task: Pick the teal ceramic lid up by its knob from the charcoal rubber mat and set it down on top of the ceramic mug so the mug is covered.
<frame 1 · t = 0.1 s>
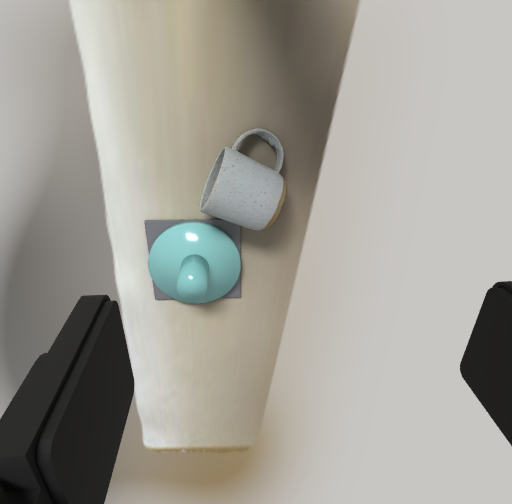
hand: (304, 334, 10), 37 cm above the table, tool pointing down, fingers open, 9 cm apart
ceramic mug: (244, 170, 45), on the table
mat: (195, 260, 50), on the table
lid: (195, 261, 50), resting on mat
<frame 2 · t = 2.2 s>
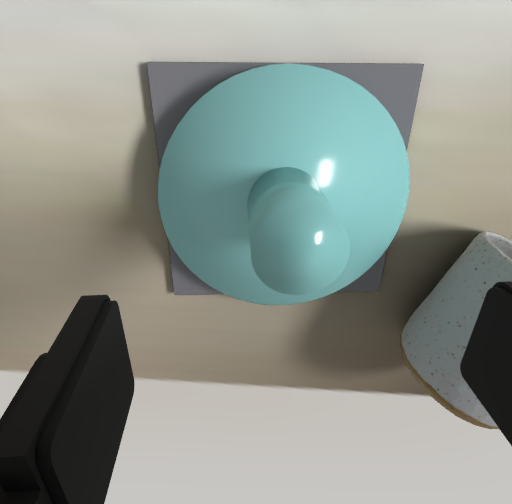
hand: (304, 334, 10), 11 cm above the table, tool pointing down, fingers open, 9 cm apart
ceramic mug: (478, 292, 23), on the table
mat: (281, 192, 19), on the table
lid: (282, 195, 19), resting on mat
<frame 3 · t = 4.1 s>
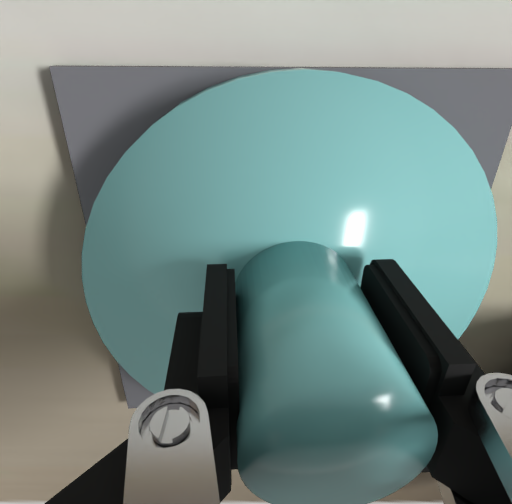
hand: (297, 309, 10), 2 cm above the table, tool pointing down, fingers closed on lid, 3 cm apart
mat: (286, 267, 12), on the table
lid: (287, 273, 12), resting on mat, touching gripper
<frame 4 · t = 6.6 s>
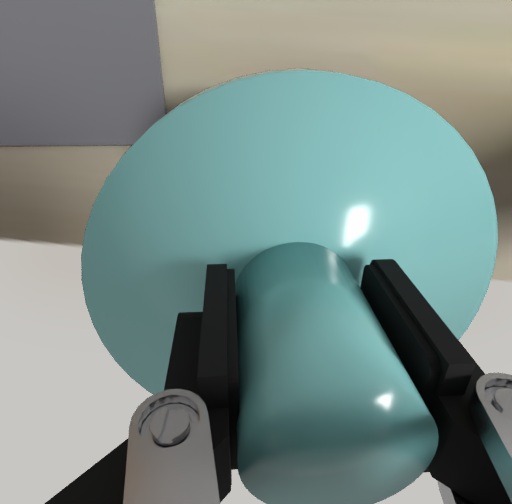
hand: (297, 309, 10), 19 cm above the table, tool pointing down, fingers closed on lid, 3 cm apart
mat: (60, 45, 23), on the table
lid: (288, 274, 12), point 17 cm above the table, touching gripper
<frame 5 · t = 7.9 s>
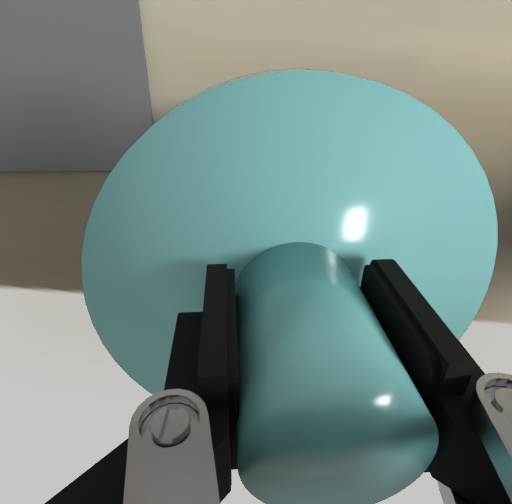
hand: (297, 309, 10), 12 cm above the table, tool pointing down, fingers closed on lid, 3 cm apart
mat: (14, 44, 18), on the table
lid: (288, 274, 12), point 11 cm above the table, touching gripper
when the fingers open (10 cm above the table, at t = 9.1 s): lid stays where it is, resting on ceramic mug.
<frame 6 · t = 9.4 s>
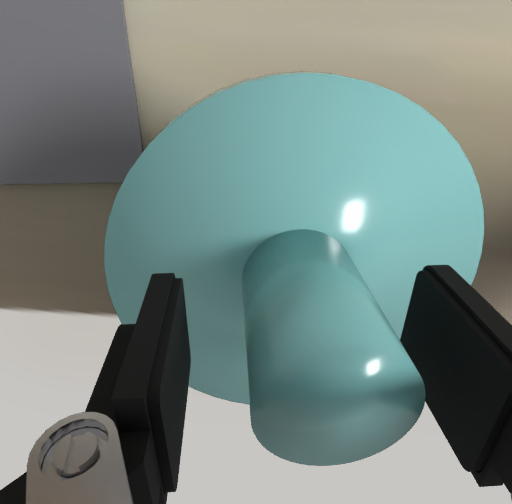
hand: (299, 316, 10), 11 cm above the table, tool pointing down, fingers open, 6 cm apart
lid: (291, 261, 13), point 8 cm above the table, touching ceramic mug
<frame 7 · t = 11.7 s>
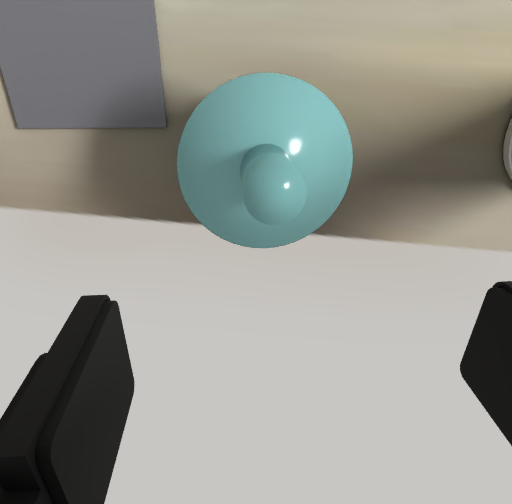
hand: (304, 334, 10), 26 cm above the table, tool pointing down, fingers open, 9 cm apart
mat: (79, 45, 29), on the table
lid: (264, 165, 26), point 8 cm above the table, touching ceramic mug
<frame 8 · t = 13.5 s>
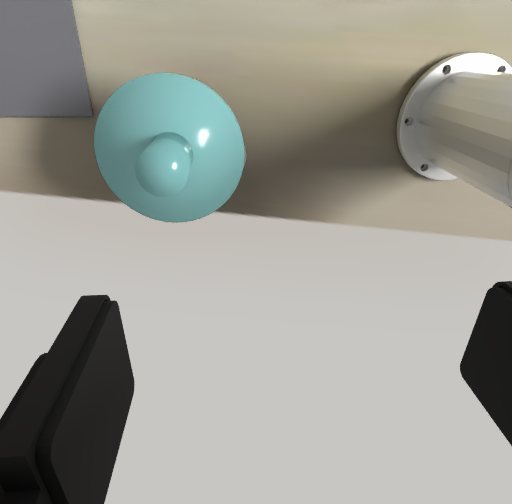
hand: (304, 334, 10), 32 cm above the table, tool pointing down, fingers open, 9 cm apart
mat: (11, 45, 33), on the table
lid: (172, 151, 31), point 8 cm above the table, touching ceramic mug
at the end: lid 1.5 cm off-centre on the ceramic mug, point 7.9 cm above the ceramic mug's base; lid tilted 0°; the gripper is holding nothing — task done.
